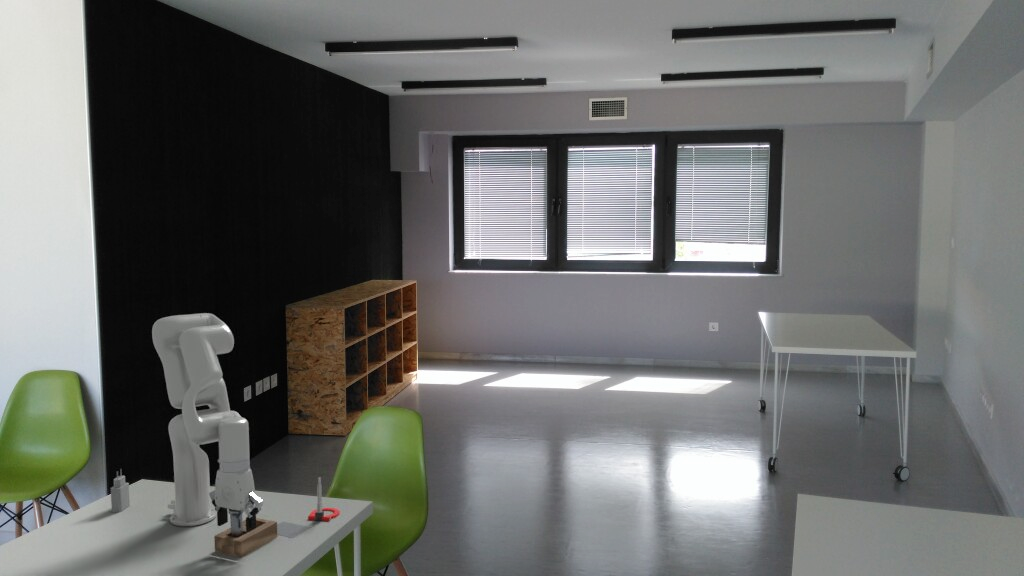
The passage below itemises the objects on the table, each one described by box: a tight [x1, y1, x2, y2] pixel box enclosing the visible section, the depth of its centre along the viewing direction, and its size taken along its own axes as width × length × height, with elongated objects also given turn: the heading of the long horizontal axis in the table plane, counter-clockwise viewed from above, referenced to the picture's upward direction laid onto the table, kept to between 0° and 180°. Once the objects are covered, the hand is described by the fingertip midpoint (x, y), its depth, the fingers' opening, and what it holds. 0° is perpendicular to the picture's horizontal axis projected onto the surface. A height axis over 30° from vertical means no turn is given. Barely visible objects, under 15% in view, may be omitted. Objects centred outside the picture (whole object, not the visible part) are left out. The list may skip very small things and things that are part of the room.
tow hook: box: [307, 477, 340, 522], centre depth 231 cm, size 8×13×9 cm
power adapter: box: [110, 468, 131, 513], centre depth 236 cm, size 3×5×12 cm, turn 176°
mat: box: [277, 521, 312, 539], centre depth 221 cm, size 10×8×1 cm
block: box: [214, 517, 278, 558], centre depth 211 cm, size 9×14×4 cm, turn 157°
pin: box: [228, 509, 245, 538], centre depth 208 cm, size 4×4×11 cm
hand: (236, 527), depth 208 cm, fingers open, 9 cm apart
